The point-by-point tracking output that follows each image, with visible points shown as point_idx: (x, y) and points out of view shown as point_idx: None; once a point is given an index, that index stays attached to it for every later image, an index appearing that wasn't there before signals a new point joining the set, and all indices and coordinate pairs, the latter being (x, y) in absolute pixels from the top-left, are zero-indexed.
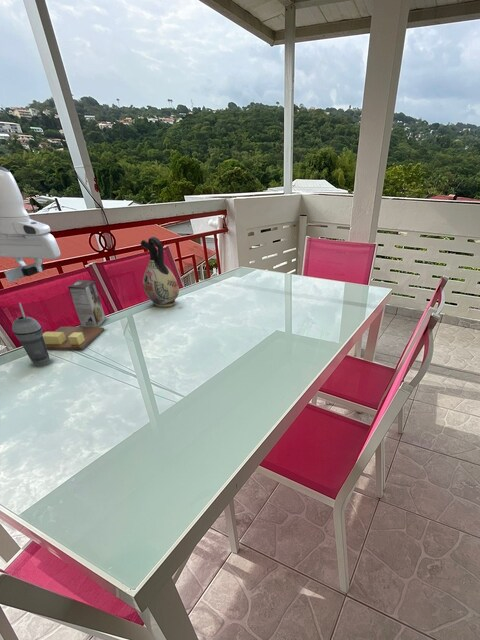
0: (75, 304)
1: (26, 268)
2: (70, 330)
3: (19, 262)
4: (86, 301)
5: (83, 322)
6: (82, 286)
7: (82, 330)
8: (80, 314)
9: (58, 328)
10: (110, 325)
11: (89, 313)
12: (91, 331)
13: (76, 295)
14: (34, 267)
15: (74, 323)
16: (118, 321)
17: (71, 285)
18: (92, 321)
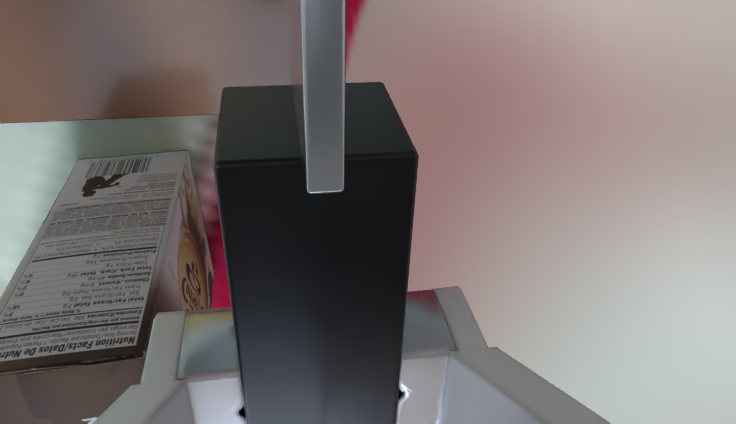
0: (154, 245)
1: (228, 183)
2: (187, 44)
3: (521, 407)
4: (38, 275)
5: (159, 167)
6: (12, 399)
7: (97, 53)
8: (152, 198)
9: None
10: (10, 200)
11: (76, 212)
12: (9, 38)
13: (99, 302)
14: (222, 364)
15: None
16: (6, 266)
17: None
18: (89, 178)
